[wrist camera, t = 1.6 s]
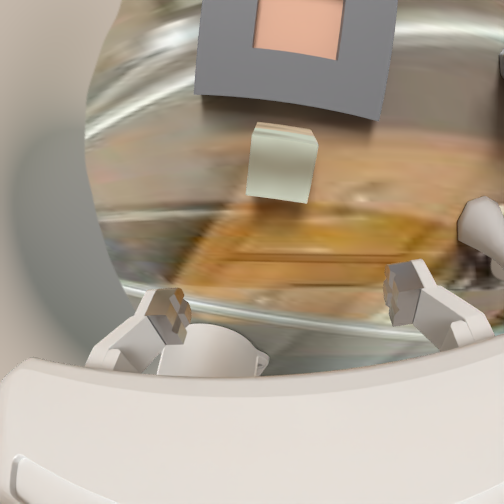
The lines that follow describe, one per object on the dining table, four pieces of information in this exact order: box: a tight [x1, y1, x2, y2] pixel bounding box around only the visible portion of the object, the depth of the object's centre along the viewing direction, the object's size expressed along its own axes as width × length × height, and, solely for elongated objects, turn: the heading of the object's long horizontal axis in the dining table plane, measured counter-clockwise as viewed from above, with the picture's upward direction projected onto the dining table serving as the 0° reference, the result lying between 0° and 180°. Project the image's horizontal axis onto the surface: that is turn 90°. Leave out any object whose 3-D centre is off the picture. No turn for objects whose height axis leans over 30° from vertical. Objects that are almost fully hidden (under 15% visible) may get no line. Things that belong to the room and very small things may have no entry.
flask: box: [458, 196, 504, 269], centre depth 24 cm, size 7×7×10 cm
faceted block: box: [246, 122, 319, 204], centre depth 25 cm, size 5×5×6 cm
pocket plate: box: [194, 0, 398, 121], centre depth 18 cm, size 16×16×2 cm
